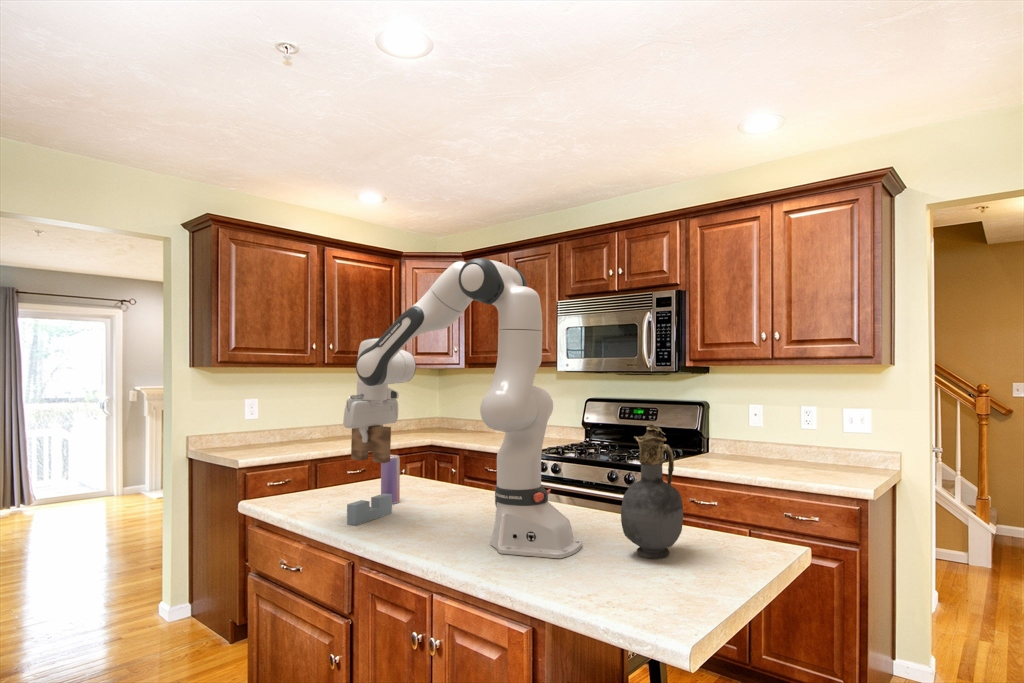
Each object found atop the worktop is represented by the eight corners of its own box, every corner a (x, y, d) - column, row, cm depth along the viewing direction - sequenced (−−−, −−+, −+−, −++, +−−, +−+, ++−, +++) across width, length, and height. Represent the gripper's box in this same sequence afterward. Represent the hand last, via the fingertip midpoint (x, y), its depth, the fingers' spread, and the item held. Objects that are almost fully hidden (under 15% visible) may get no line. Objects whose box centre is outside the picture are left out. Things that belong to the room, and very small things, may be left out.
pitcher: (615, 557, 136) (613, 425, 138) (653, 538, 151) (651, 419, 152) (659, 567, 130) (657, 428, 131) (694, 546, 144) (692, 422, 146)
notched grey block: (391, 513, 180) (392, 494, 180) (355, 525, 166) (355, 505, 166) (384, 512, 181) (384, 493, 182) (347, 524, 167) (347, 504, 167)
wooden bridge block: (390, 461, 172) (391, 426, 172) (383, 463, 170) (384, 427, 170) (358, 457, 178) (358, 424, 178) (351, 459, 175) (351, 425, 175)
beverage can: (389, 505, 190) (389, 458, 191) (377, 503, 193) (377, 456, 194) (403, 502, 195) (403, 455, 195) (391, 499, 198) (391, 454, 199)
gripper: (356, 395, 163) (354, 446, 163) (402, 392, 182) (401, 438, 181) (338, 394, 166) (337, 444, 166) (385, 391, 185) (384, 436, 184)
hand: (371, 441), depth 174 cm, fingers closed on wooden bridge block, 3 cm apart
